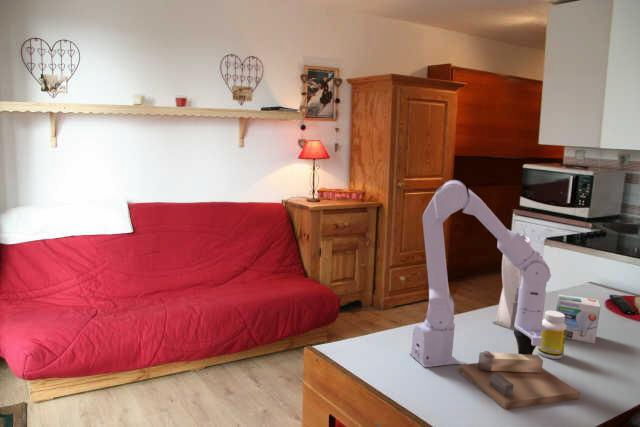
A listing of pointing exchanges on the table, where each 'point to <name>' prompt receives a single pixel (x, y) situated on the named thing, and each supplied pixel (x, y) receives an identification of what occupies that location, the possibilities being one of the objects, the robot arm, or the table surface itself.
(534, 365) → the folding leg
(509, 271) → the skyscraper
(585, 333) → the light bulb box
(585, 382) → the table surface
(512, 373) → the stool seat
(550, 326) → the pill bottle
